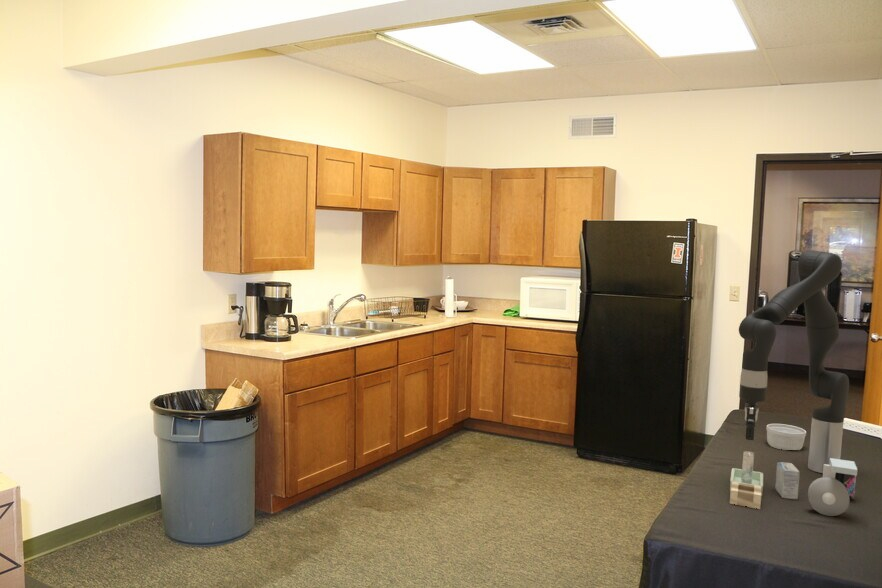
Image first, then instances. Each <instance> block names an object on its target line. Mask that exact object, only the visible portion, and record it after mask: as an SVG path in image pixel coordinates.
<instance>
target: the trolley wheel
mask: <svg viewBox="0 0 882 588" xmlns="http://www.w3.org/2000/svg"><path fill="white" fill-rule="evenodd" d="M829 464H830V465H827V464H824V468H823V473H822V477H819V478H816V479H814V480H813V481H812V482H811V483H810V484H809V487H808V489H807V498H808V501H809V504H810V505H811V507H812V508H813V510H815V511H816V512H817V513H819V514H820V515H824V516H825V517H826V516H827V517H828V516H829V517H834V516H839V515H841V514H843V513H844V512H846V510H847V509H848V507H849V506H850V501H849V495H848V492H847V489H846V488H845V486H844V485H843V484H842V483H841V482H840V481H838V480H836V479H835V474H836V472H837V473H843V474H850V475H856V477H857V476H858V466H857V467H856V465H857V464H856V462H855V461H853V460H846V459H841V458H840V459H833V458H830V462H829ZM855 464H856V465H855Z"/></svg>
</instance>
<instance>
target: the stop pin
mask: <svg viewBox="0 0 882 588" xmlns="http://www.w3.org/2000/svg"><path fill="white" fill-rule="evenodd" d="M754 460H755V452H752V451H748V450H747V451H746V450H745V451H743V455H742V466H741V467H742V468H741V469H742V477H741V482H742V483H748V484H752V475H753V471H754V462H755V461H754Z"/></svg>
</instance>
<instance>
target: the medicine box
mask: <svg viewBox="0 0 882 588" xmlns="http://www.w3.org/2000/svg"><path fill="white" fill-rule="evenodd" d="M799 481H800V470H799V469H798V468H797V467H796V466H795V465H794V464H793V462H792V463H791V462H782V461H781V462H780V461H779V462H777V463H776V473H775V487H774V489H775V490H776V492H777V493H778V494H779V496H780V497H781V498H782V499H787V500H788V499H789V500H796V501H797V500H798V499H799V498H798V497H799V485H800V482H799Z"/></svg>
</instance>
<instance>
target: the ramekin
mask: <svg viewBox="0 0 882 588" xmlns="http://www.w3.org/2000/svg"><path fill="white" fill-rule="evenodd" d="M765 430H766V439H767V440H766V441H767V443H768V445H769V446H770V447H772V448H775V449H777V450H781V449H782V450H781V451H786V450H798V451H800V450H801V449H803V447H804V443H805V437H806V436H807V431H806V430H805V429H804V428H802V427H799V426H795V425H791V424H783V423H769V424H767V425H766V429H765Z"/></svg>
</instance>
